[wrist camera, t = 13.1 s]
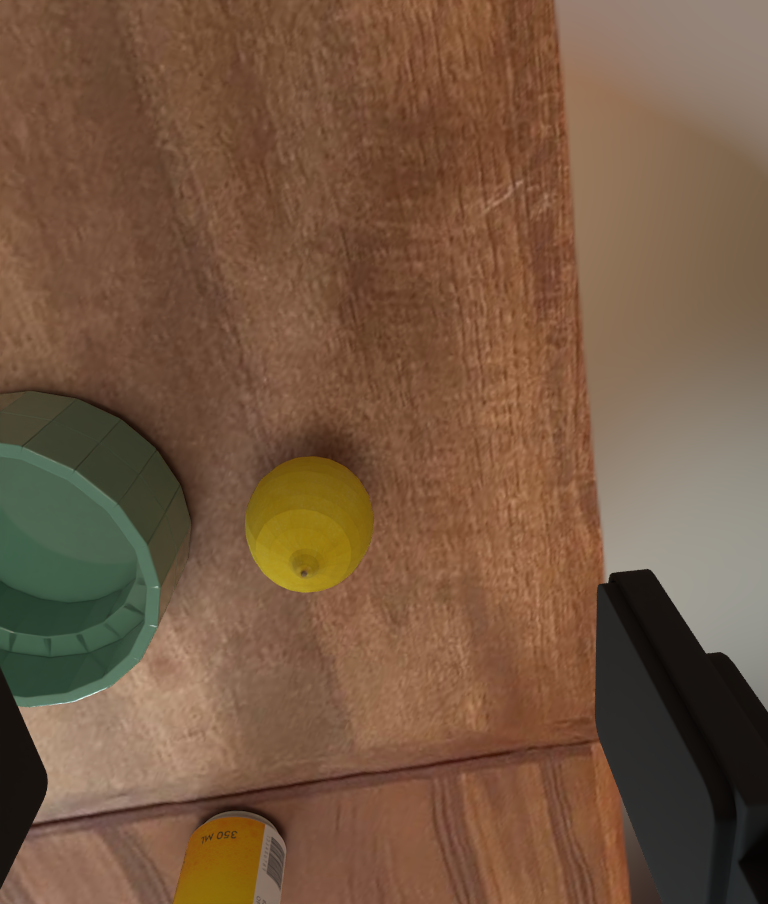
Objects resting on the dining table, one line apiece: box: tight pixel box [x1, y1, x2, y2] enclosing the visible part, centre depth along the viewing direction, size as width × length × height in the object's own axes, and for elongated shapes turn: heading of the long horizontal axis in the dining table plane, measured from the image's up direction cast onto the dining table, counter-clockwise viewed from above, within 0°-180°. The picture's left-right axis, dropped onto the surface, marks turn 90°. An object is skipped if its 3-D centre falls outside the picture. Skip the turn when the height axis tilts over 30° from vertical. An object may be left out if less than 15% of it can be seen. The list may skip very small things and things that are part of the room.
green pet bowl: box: [0, 391, 191, 707], centre depth 32 cm, size 13×13×6 cm
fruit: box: [245, 456, 374, 593], centre depth 30 cm, size 6×6×8 cm
